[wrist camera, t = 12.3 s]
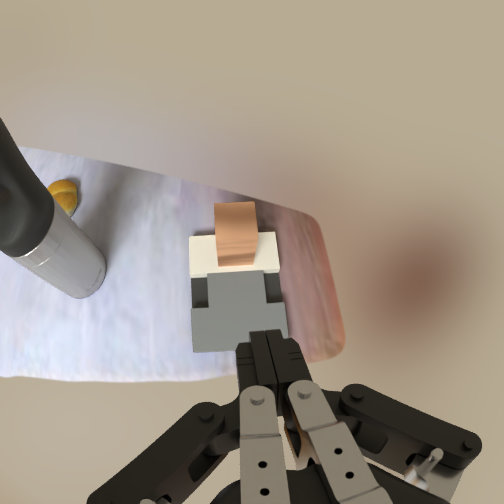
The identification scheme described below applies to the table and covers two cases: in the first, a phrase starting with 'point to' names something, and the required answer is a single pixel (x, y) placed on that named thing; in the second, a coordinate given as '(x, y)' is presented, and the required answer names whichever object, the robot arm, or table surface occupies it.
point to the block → (235, 233)
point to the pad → (207, 262)
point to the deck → (234, 308)
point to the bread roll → (64, 195)
